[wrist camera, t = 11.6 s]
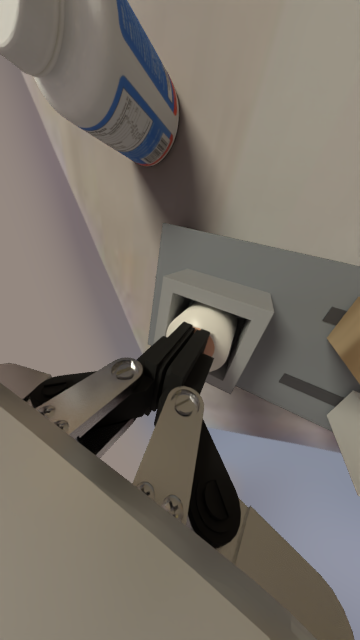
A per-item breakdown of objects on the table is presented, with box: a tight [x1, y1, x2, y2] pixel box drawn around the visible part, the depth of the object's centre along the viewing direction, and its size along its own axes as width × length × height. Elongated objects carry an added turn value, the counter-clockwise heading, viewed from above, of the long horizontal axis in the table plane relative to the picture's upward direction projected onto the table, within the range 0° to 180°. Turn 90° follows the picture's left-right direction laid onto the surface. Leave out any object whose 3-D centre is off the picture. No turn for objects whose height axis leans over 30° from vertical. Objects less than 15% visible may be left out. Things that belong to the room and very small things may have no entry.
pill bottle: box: [0, 0, 179, 166], centre depth 9 cm, size 6×5×10 cm
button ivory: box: [166, 301, 237, 372], centre depth 12 cm, size 4×4×4 cm
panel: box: [148, 223, 360, 432], centre depth 12 cm, size 26×12×7 cm, turn 77°
